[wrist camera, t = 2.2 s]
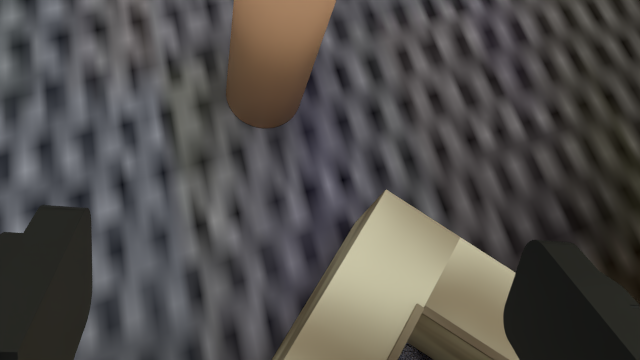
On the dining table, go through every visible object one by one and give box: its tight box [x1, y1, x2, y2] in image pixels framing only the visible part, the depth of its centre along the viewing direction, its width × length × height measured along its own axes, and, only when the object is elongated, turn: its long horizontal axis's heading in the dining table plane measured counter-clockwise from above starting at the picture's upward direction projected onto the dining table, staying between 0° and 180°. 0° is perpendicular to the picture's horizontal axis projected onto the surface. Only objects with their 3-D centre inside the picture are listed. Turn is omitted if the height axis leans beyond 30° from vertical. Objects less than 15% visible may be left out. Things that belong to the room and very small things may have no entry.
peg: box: [226, 0, 336, 128], centre depth 24 cm, size 4×4×12 cm
